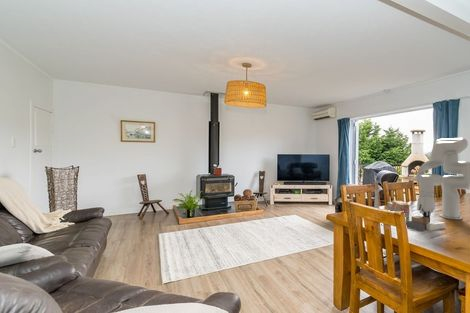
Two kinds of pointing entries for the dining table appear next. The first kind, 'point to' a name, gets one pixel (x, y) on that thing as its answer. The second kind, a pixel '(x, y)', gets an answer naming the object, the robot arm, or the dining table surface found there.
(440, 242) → the dining table surface
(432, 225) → the chute rail
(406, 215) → the stack of blocks
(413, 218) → the walnut block
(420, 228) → the bar
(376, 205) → the candlestick
